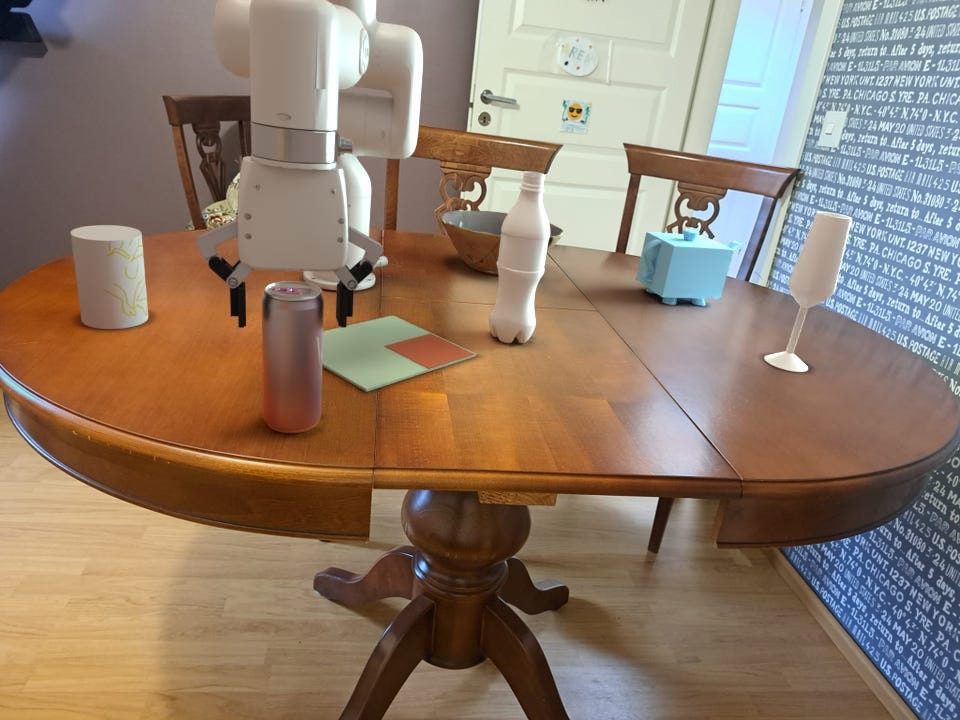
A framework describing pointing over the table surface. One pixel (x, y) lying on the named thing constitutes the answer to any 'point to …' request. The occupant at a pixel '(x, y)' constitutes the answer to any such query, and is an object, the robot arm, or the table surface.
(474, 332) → the table surface
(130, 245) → the cup
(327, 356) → the placemat
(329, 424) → the table surface
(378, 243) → the robot arm
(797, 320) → the champagne flute
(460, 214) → the bowl
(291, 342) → the beverage can
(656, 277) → the teapot
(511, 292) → the water bottle
